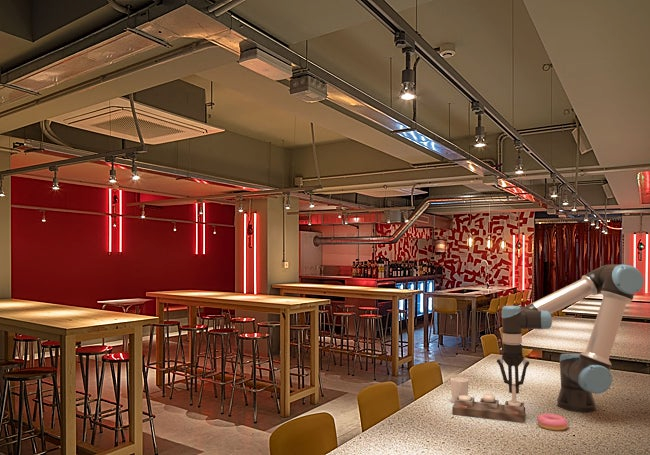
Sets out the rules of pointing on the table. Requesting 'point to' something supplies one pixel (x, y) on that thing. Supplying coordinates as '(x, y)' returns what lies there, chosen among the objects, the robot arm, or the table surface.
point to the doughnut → (552, 422)
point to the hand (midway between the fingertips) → (514, 401)
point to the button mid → (488, 398)
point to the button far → (464, 398)
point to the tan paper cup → (459, 387)
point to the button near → (514, 403)
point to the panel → (489, 410)
